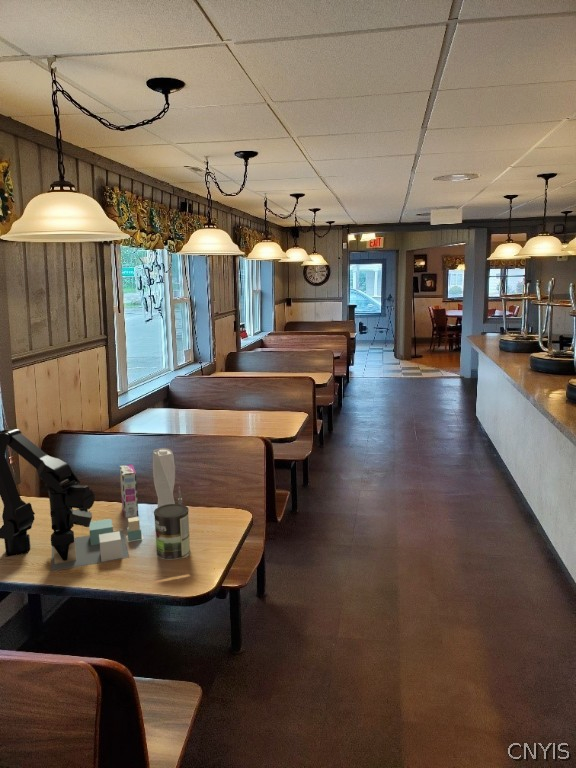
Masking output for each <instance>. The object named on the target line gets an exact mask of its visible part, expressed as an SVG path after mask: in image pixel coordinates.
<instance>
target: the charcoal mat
mask: <svg viewBox="0 0 576 768" xmlns="http://www.w3.org/2000/svg"><path fill="white" fill-rule="evenodd" d="M118 531H119V532H120V537H121V546H122V558H119V559H114V560H108V561H101V554H100V544H97V545H91V541H90V534H89V535H83V536H75V547H76V560H74V561H68V562H63V563H57V564H55V561H54V551H53V546H51V558H50V572H57V571H62V570H67V569H74V568H80V567H85V566H89V565H96V564H101V563H102V564H103V563H106V562H112V561H118V560H119V561H120V560H123V559H127V558H128V559H129V558H130V553H129V549H128V544H127V539H126V537H125V536H126V535H125V531H124V529H120V530H113V532H118Z"/></svg>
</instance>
